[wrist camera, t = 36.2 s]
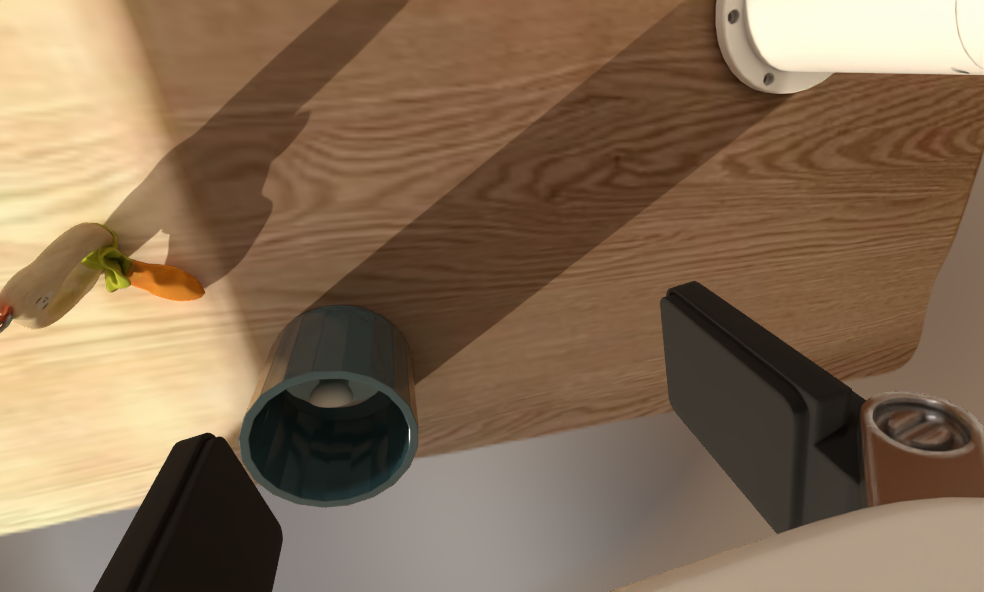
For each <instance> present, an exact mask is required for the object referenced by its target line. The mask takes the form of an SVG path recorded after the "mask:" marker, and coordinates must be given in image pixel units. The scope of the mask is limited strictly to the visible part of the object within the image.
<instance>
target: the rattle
mask: <svg viewBox="0 0 984 592" xmlns="http://www.w3.org/2000/svg"><path fill="white" fill-rule="evenodd" d="M103 270H105V283H106V288H107V290H108V292H114V291H116V290H117V289H118V288H122V289H123V288H127V287H129V286H130V285H132V286H135V287H138V288H141V289H144V290H147V291H149V292H150V293H152V294H154V295H156V296H159V297H162V298H166V299H170V300H174V301H190V300H195V299H199V298H201V297H202V296H203V295H204V294H205V291H204V289H203V287H202V285H201V284H200V282H199V281H198V280H197V279H196V278H195V277H193V276H192V275H190V274H189V273H187V272H185V271H183V270H181V269H179V268H177V267H174V266H169V265H160V264H147V263H143V262H139V261H136V260H132V259H130V258H128V257H126V256H125V255H123V254H122V253H120V251H119V250H118V238H117V235H116V233H115V232H113V231H112V230H111V229H109V228H108V227H106V226H104V225H101V224H98V223H81V224H79V225H76V226H74V227H72V228H71V229H69V230H67V231H66V232H64V233H63V234H62V235H61V236H59V237H58V238H57V239H56V240H55V241H53V242H52V243H51V244H50V245H49V246H48V247H47V248H46V249H45V250H44V251H43V252H42V253H41V254H40V255H39V256H38V258H37V259H36V260H35V261H34V262H32V263H31V264H30V265H28V266H26V267H25V268H23V269H22V270H20V271H19V272H17V273H16V274H15V275H14V276H13V277H12V278H11V279H10V280H9V281H8V282H7V284H6V285H5V286H4V287H3V289H2V290H1V292H0V313H1V315H0V325H1V324H2V326H1V327H0V333H1V332H2V331H3V330H4V329H5V328H7V327H8V326H9V324H10V322H11V321H13V322H15V323H16V324H18V325H20V326H23V327H25V328H28V329H41V328H44V327H47V326H49V325H51V324H53V323H54V322H56V321H57V320H59V319H60V318H62V317H63V316H64V315H65V314H66V313H67V312H69V311H70V310H71V309H72V308H73V307H74V306H75V305H76V304H77V303H78V302H79V301H80V300H81V299H82V297H84V296H85V295H86V294H87V293H88V292H89V291H90V290H91V289H92V288H93V287H94V285H95V284H96V282H97V280H98V278H99V276H100V274H101V272H102V271H103Z"/></svg>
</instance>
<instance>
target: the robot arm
mask: <svg viewBox="0 0 984 592" xmlns="http://www.w3.org/2000/svg"><path fill="white" fill-rule="evenodd" d="M716 32H717V39H718V44H719V47H720V50H721V53H722V56H723V58H724V60H725V62H726V64H727V65H728V67H729V69H730V70H731V72H732V73H733V74H734V75H735V76H736V77H737V78H738V79H739V80H740V81H741V82H742V83H744V84H746V85H747V86H749V87H751V88H752V89H755V90H758V91H761V92H765V93H775V94H786V93H795V92H799V91H802V90H806V89H809V88H811V87H813V86H815V85H817V84H819V83H821V82H822V81H824V80H825V79H827V78H828V77H829V76H831V75H832V74H833V73H835V72H849V73H906V74H964V75H984V0H717V2H716ZM660 308H661V319H662V330H663V340H664V351H665V362H666V373H667V384H668V395H669V400H670V403H671V405H672V407H673V409H674V411H675V412H676V414H677V415H678V416H679V417H680V418H681V420H682V421H683V422H684V423H685V424H686V426H687V427H688V428H689V429H690V430H691V432H692V433H693V434H694V435H695V436H696V437H697V439H698V440H699V441H700V442H701V444H702V445H703V446H704V447H705V448H706V450H707V451H708V452H709V453H710V454H711V455H712V457H713V458H714V459H715V460H716V462H717V463H718V464H719V465H720V466H721V468H722V469H723V470H724V471H725V472H726V474H727V475H728V476H729V477H730V478H731V480H732V481H733V482H734V483H735V484H736V485H737V487H738V488H739V489H740V490H741V491H742V493H743V494H744V495H745V496H746V497H747V499H748V500H749V501H750V502H751V503H752V505H753V506H754V507H755V508H756V509H757V511H758V512H759V513H760V514H761V515H762V517H763V518H764V519H765V520H766V521H767V523H768V524H769V525H770V526H771V527H772V529H773V530H774V531H775V532H776V533H777V534H776V535H773V536H770V537H767V538H764V539H761V540H758V541H755V542H752V543H749V544H746V545H743V546H740V547H737V548H734V549H730V550H727V551H724V552H722V553H719V554H716V555H713V556H710V557H707V558H704V559H701V560H699V561H696V562H693V563H690V564H687V565H684V566H681V567H678V568H676V569H673V570H670V571H667V572H664V573H661V574H658V575H656V576H653V577H650V578H647V579H644V580H641V581H638V582H635V583H632V584H630V585H627V586H624V587H621V588H618V589H616V590H613V591H609V592H984V428H983V426H982V425H981V423H980V422H979V420H977V419H976V418H975V417H974V416H973V415H971V414H970V413H969V412H968V411H966V410H965V409H963V408H961V407H959V406H957V405H955V404H953V403H951V402H949V401H946V400H944V399H941V398H938V397H935V396H932V395H926V394H921V393H916V392H899V391H894V392H888V393H881V394H878V395H876V396H874V397H871V398H869V399H868V400H867V401H866V400H864V399H863V398H862V397H860V396H859V395H858V394H856V393H855V392H853V391H852V389H851V388H850V387H848V386H847V385H845V384H844V383H843V382H841V381H840V380H838V379H837V378H835V377H834V376H832V375H831V374H830V373H828V372H827V371H825V370H824V369H822V368H821V367H819V366H818V365H817V364H815V363H814V362H812V361H811V360H809V359H808V358H807V357H805V356H804V355H802V354H801V353H799V352H798V351H796V350H795V349H794V348H792V347H791V346H789V345H788V344H786V343H785V342H783V341H782V340H781V339H779V338H778V337H776V336H775V335H773V334H772V333H771V332H769V331H768V330H766V329H765V328H763V327H762V326H760V325H759V324H758V323H756V322H755V321H753V320H752V319H750V318H749V317H747V316H746V315H745V314H743V313H742V312H740V311H739V310H737V309H736V308H735V307H733V306H732V305H730V304H729V303H727V302H726V301H724V300H723V299H722V298H720V297H719V296H717V295H716V294H714V293H713V292H711V291H710V290H709V289H707V288H706V287H704V286H703V285H701V284H700V283H698V282H696V281H692V282H689V283H686V284H683V285H679V286H676V287H673V288H670V289H668V291H667V294H666V297H664V298H662V299H661V301H660ZM282 541H283V536H282V530H281V526H280V524H279V522H278V521H277V519H276V518H275V516H274V515H273V513H272V512H271V510H270V508H269V507H268V505H267V504H266V502H265V501H264V499H263V497H262V496H261V494H260V493H259V491H258V490H257V488H256V486H255V485H254V483H253V482H252V480H251V479H250V477H249V475H248V474H247V472H246V471H245V469H244V468H243V466H242V465H241V463H240V461H239V460H238V458H237V457H236V455H235V454H234V452H233V450H232V449H231V447H230V446H229V444H228V443H227V441H226V440H225V439H224V438H223V437H215V436H214V435H213V434H211V433H205V434H201V435H198V436H195V437H192V438H189V439H185V440H182V441H179V442H177V443H176V444H175V445H174V447H173V448H172V450H171V452H170V454H169V456H168V457H167V459H166V461H165V463H164V465H163V466H162V468H161V470H160V472H159V474H158V475H157V477H156V479H155V481H154V483H153V484H152V486H151V488H150V490H149V492H148V494H147V495H146V497H145V499H144V501H143V503H142V504H141V506H140V508H139V510H138V512H137V513H136V515H135V517H134V519H133V521H132V522H131V525H130V526H129V528H128V530H127V532H126V533H125V535H124V537H123V539H122V541H121V542H120V544H119V546H118V548H117V550H116V551H115V553H114V555H113V557H112V559H111V560H110V562H109V564H108V566H107V568H106V570H105V571H104V573H103V575H102V577H101V579H100V580H99V582H98V584H97V586H96V588H95V590H94V591H93V592H272V589H273V584H274V580H275V575H276V570H277V566H278V561H279V556H280V551H281V547H282Z"/></svg>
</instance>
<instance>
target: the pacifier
mask: <svg viewBox="0 0 984 592" xmlns="http://www.w3.org/2000/svg"><path fill="white" fill-rule="evenodd" d="M287 391H289V392H290V393H291V394H292V395H293V396H295V397H297V398H300V399H303V400H305V401H307V402H309V403H311V404H313V405H315V406H318V407H324V408H340V407H349V406H353V405H357V404H359V403H361V402H364V401H366V400H367V399H369V398H370V397H371V396H373V395H375V394H376V393H377V392H378V390H377V389H375V388H373V387H371V386H370V385H368V384H364V383H359V382H355V381H350V380H346V379H319V380H311V381H308V382H305V383H302V384H298V385H295V386H292V387H289V388H287Z"/></svg>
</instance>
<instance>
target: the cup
mask: <svg viewBox="0 0 984 592" xmlns="http://www.w3.org/2000/svg"><path fill="white" fill-rule="evenodd" d="M319 379H346V380H350V381H355V382H359V383H364V384H368V385H370V386H371V387H373V388H375V389H377V390H378V392H377V393H376V394H375V395H373V396H371V397H370V398H369V399H367V400H366V401H364V402H361V403H359V404H357V405H353V406H349V407H340V408H324V407H318V406H315V405H313V404H311V403H309V402H307V401H305V400H303V399H300V398H297V397H295V396H293V395H292V394H291V393H290V392H289V391H287V388H289V387H292V386H295V385H298V384H302V383H305V382H308V381H311V380H319ZM239 445H240V451H241V457H242V461H243V463H244V465H245V466H246V468H247V469H248V471H249V472H250V474H251V476H252V477H253V479H254V480H255V481H256V482H258V483H259V484H260V485H261V486H263V487H264V488H265V489H267V490H268V491H269V492H270V493H272V494H274V495H276V496H278V497H281V498H283V499H286V500H288V501H291V502H293V503H296V504H297V503H298V504H301V505H308V506H316V507H336V506H347V505H351V504H354V503H357V502H360V501H363V500H367V499H370V498H373V497H375V496H376V495H378V494H380V493H381V492H383V491H384V490H386V489H387V488H389V487H391V486H392V485H394V484H395V483H396V482H397V481H398V480H399V478H400V477H401V476H402V475H403V474H404V473H405V472H406V471H407V469H408V468H409V467H410V465H411V463H412V461H413V458H414V456H415V453H416V451H417V449H418V418H417V407H416V397H415V386H414V375H413V364H412V358H411V353H410V350H409V346H408V344H407V342H406V340H405V338H404V337H403V335H402V334H401V332H400V331H399V330H398V329H397V328H396V326H394V325H393V324H392V323H391V322H390V321H389V320H387V319H386V318H384V317H383V316H381V315H379V314H377V313H375V312H373V311H370V310H367V309H364V308H360V307H356V306H348V305H334V306H326V307H321V308H317V309H314V310H312V311H309V312H306V313H305V314H303V315H301V316H299V317H297V318H296V319H294V320H293V321H292V322H290V323H289V324H288V325H287V326H286V327H285V328H284V329H283V330H282V332H281V333H280V334H279V336H278V337H277V339H276V341H275V343H274V344H273V346H272V348H271V351H270V353H269V356H268V358H267V361H266V363H265V366H264V368H263V371H262V373H261V376H260V378H259V381H258V383H257V386H256V388H255V391H254V393H253V396H252V398H251V401H250V403H249V406H248V408H247V411H246V413H245V416H244V419H243V423H242V426H241V430H240V434H239Z"/></svg>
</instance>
